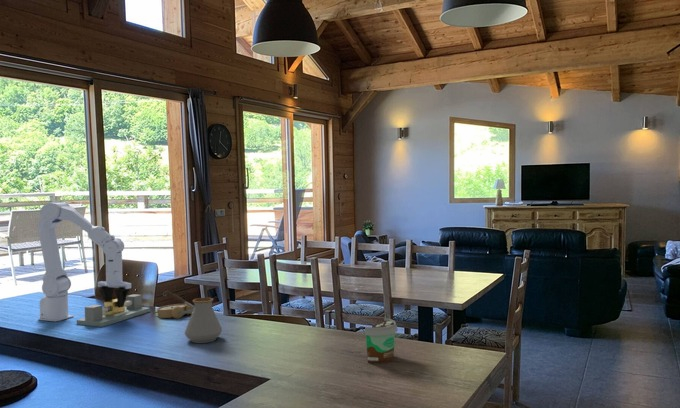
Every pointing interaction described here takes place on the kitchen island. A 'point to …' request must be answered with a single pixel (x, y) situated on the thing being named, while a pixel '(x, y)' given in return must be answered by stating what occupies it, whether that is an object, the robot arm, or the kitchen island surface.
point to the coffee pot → (201, 320)
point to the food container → (381, 341)
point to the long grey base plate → (98, 317)
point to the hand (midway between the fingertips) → (114, 306)
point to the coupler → (113, 307)
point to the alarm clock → (174, 311)
